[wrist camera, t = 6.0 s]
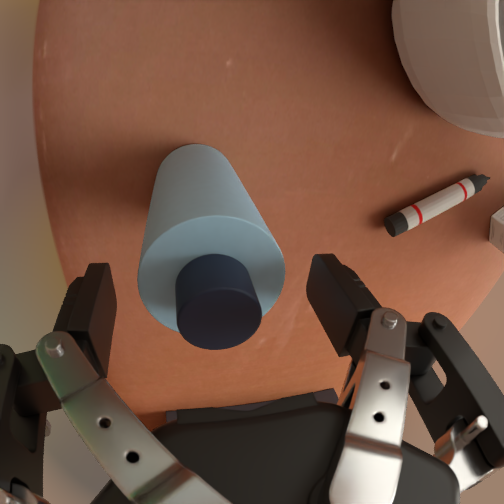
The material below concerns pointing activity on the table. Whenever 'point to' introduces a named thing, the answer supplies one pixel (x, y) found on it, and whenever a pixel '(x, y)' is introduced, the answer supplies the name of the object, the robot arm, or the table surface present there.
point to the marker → (434, 205)
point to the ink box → (497, 229)
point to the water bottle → (207, 252)
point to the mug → (455, 59)
